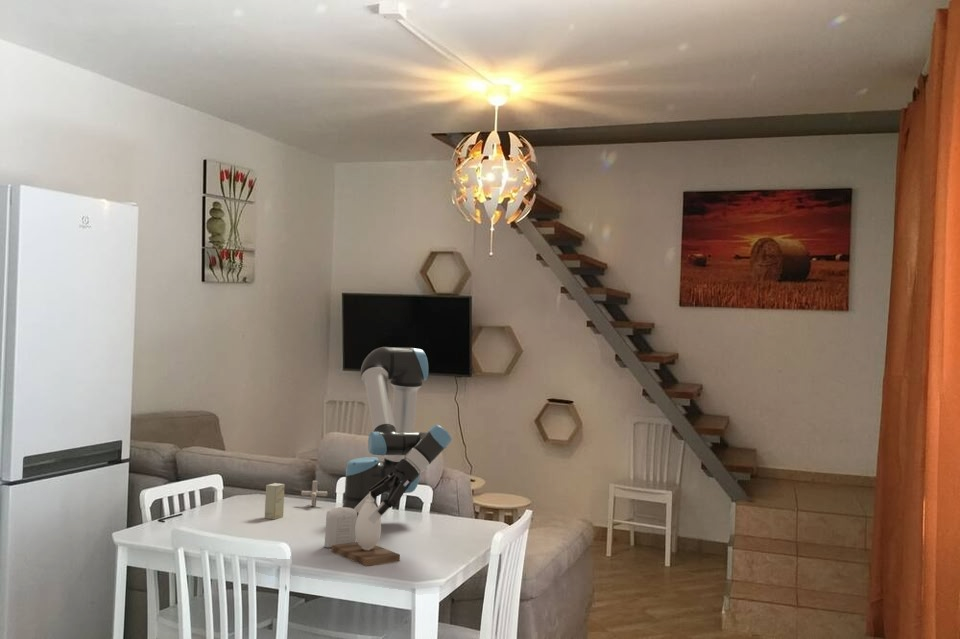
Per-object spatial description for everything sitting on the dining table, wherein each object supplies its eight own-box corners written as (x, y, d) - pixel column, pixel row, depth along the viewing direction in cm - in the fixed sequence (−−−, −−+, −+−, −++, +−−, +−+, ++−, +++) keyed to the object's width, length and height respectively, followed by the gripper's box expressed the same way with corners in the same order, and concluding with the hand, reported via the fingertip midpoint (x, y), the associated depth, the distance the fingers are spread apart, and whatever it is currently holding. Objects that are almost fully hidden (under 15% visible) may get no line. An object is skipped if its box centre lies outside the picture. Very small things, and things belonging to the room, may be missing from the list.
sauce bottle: (361, 545, 266) (364, 487, 267) (384, 548, 264) (386, 490, 264) (350, 550, 259) (352, 491, 259) (373, 553, 257) (376, 494, 257)
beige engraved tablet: (352, 543, 277) (354, 505, 277) (357, 546, 273) (359, 507, 274) (322, 545, 272) (324, 507, 272) (326, 548, 268) (328, 509, 269)
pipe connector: (302, 503, 339) (303, 478, 340) (327, 504, 340) (328, 479, 341) (299, 508, 329) (300, 482, 330) (325, 509, 330) (326, 483, 331)
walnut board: (331, 551, 265) (331, 545, 265) (364, 547, 273) (364, 540, 273) (366, 566, 250) (366, 559, 250) (399, 561, 257) (400, 554, 257)
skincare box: (274, 519, 307) (276, 486, 308) (263, 518, 309) (265, 484, 309) (283, 516, 313) (285, 483, 314) (273, 515, 315) (275, 482, 315)
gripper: (434, 480, 258) (384, 533, 251) (405, 468, 280) (359, 516, 273) (418, 463, 255) (368, 516, 249) (390, 452, 278) (344, 500, 271)
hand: (363, 516), depth 261 cm, fingers open, 13 cm apart
